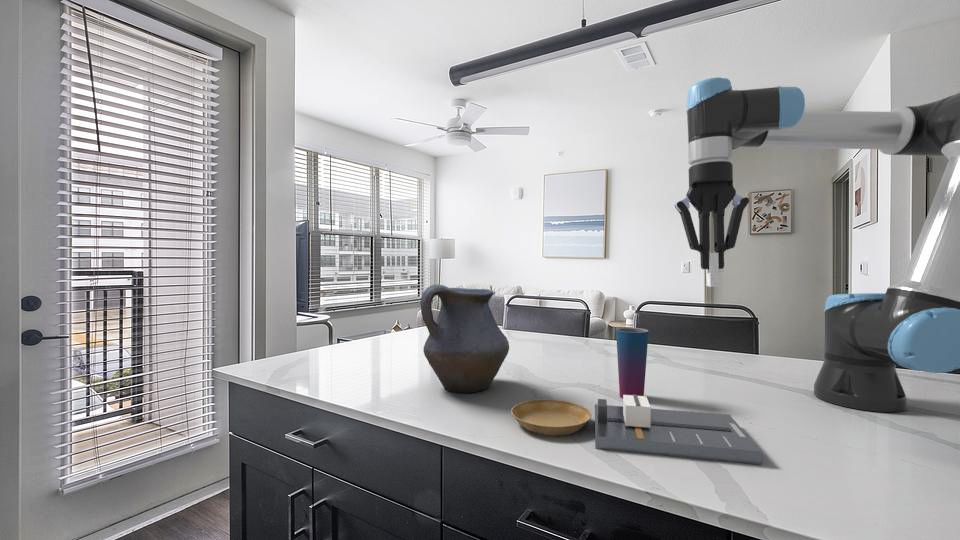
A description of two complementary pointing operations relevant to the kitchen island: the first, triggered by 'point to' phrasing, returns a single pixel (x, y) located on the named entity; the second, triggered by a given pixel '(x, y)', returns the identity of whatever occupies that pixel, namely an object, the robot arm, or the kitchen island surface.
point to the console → (676, 435)
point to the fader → (636, 411)
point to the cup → (631, 360)
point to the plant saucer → (551, 416)
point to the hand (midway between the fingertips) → (712, 286)
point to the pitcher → (463, 338)
